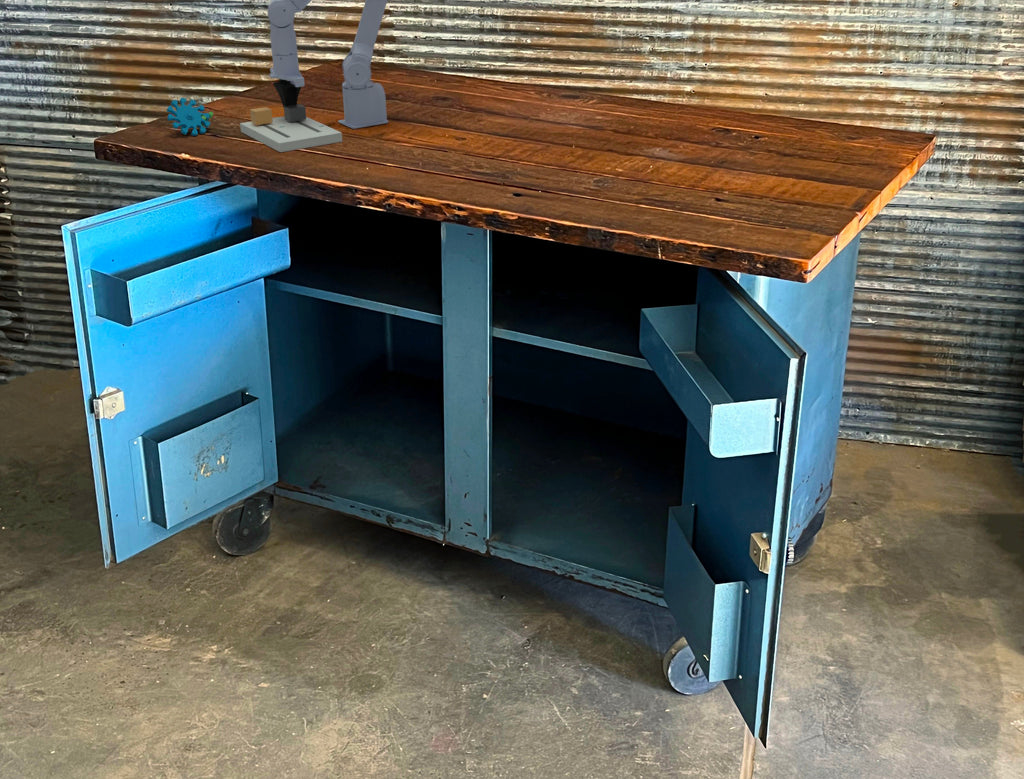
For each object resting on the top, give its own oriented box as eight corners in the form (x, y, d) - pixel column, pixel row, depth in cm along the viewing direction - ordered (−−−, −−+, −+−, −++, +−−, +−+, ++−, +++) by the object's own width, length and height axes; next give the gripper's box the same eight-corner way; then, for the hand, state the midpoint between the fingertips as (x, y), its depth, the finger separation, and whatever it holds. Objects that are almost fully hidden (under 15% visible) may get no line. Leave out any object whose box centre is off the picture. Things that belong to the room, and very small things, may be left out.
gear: (175, 133, 279) (162, 96, 281) (168, 148, 283) (155, 111, 286) (221, 131, 285) (208, 95, 288) (213, 146, 290) (200, 110, 292)
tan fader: (267, 119, 285) (266, 106, 284) (272, 122, 283) (271, 109, 282) (251, 122, 283) (249, 109, 282) (256, 125, 281) (255, 112, 280)
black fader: (300, 116, 288) (299, 103, 286) (306, 119, 285) (305, 106, 284) (285, 119, 286) (283, 106, 284) (290, 121, 283) (289, 108, 282)
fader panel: (300, 122, 293) (299, 113, 292) (342, 141, 276) (341, 132, 275) (241, 131, 285) (240, 123, 285) (280, 152, 269) (279, 143, 268)
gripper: (255, 50, 285) (261, 109, 291) (281, 60, 274) (287, 121, 280) (284, 46, 288) (289, 105, 294) (310, 56, 277) (315, 116, 283)
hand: (290, 112), depth 287 cm, fingers closed
